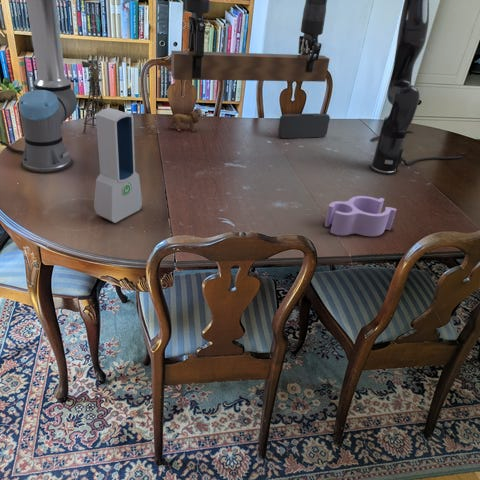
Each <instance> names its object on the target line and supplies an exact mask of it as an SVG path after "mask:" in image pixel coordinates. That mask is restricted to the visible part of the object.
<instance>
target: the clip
mask: <svg viewBox="0 0 480 480" xmlns="http://www.w3.org/2000/svg"><path fill="white" fill-rule="evenodd" d="M384 201H385V198H383V197H379V198H376V197H373V196H368V195H357V196H352V197H350V198H349V200H347V201H339V200H338V201H337V200H335V201H332V202H330V203H329V205H328V208H327V214H326V218H325V222H324V227H326V228H329V227H330V226H331V227H330V233H331V234H333V235H336V236H348V235H353V234H356V235H360V236H364V237H365V236H366V237H378V236H381V235H382V234H384V232H385V230H387V231H391V229H392V226H393V222H394V219H395V216H396V213H397V210H398V209H397V208H395V207H391V206H385V207H384V211H383V212H382V209H383V206H384Z"/></svg>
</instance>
